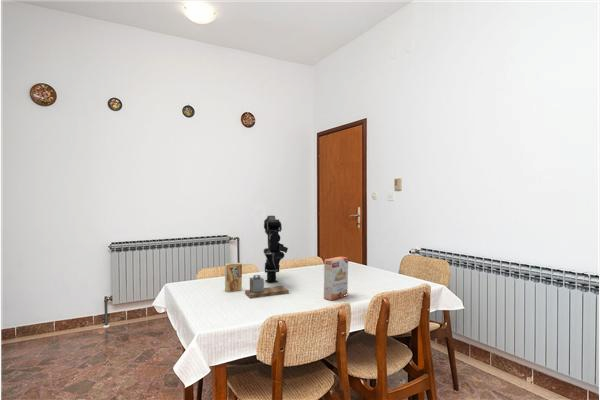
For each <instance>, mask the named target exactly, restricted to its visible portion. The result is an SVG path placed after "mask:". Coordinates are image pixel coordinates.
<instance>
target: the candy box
mask: <svg viewBox="0 0 600 400" xmlns="http://www.w3.org/2000/svg"><path fill="white" fill-rule="evenodd" d="M224 278H225V279H224V291H225V292H227V293H230V292H238V291H243V263H241V262H233V263H232V262H231V263H225V265H224Z"/></svg>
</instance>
